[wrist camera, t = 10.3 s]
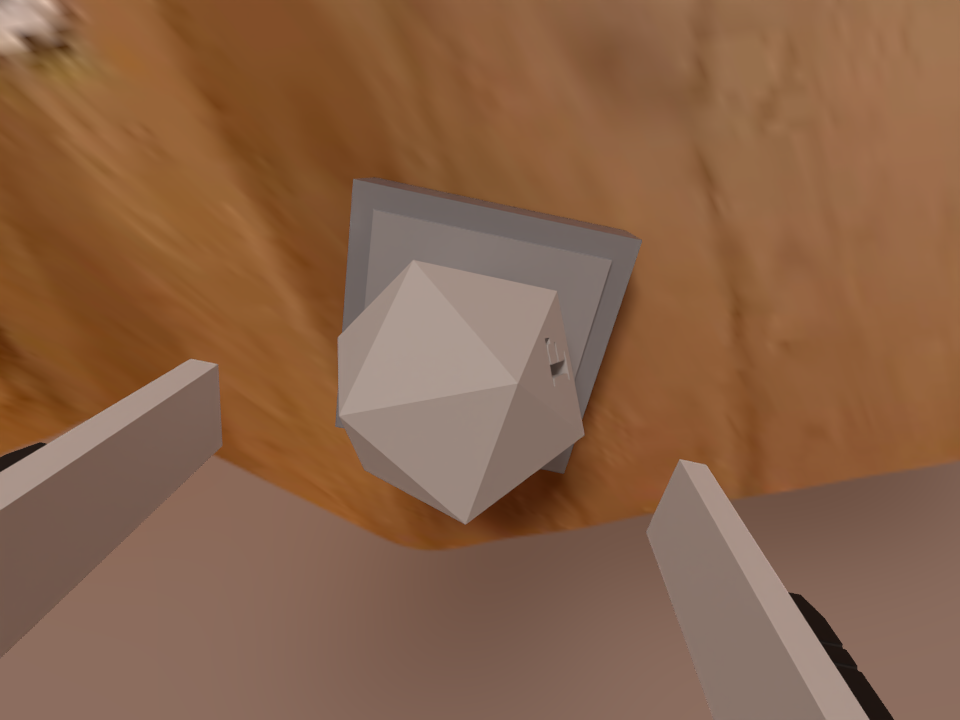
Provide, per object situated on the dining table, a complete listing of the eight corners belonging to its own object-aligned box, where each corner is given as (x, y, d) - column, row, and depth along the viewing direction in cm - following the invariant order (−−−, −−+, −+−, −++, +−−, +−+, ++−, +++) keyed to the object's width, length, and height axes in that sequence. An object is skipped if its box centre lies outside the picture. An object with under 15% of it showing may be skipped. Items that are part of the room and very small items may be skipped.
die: (520, 447, 23) (670, 488, 14) (343, 500, 20) (385, 601, 10) (488, 285, 23) (619, 217, 14) (304, 310, 20) (312, 241, 10)
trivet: (354, 398, 26) (333, 429, 23) (374, 177, 21) (351, 179, 18) (558, 441, 26) (564, 476, 23) (625, 230, 21) (643, 241, 18)
